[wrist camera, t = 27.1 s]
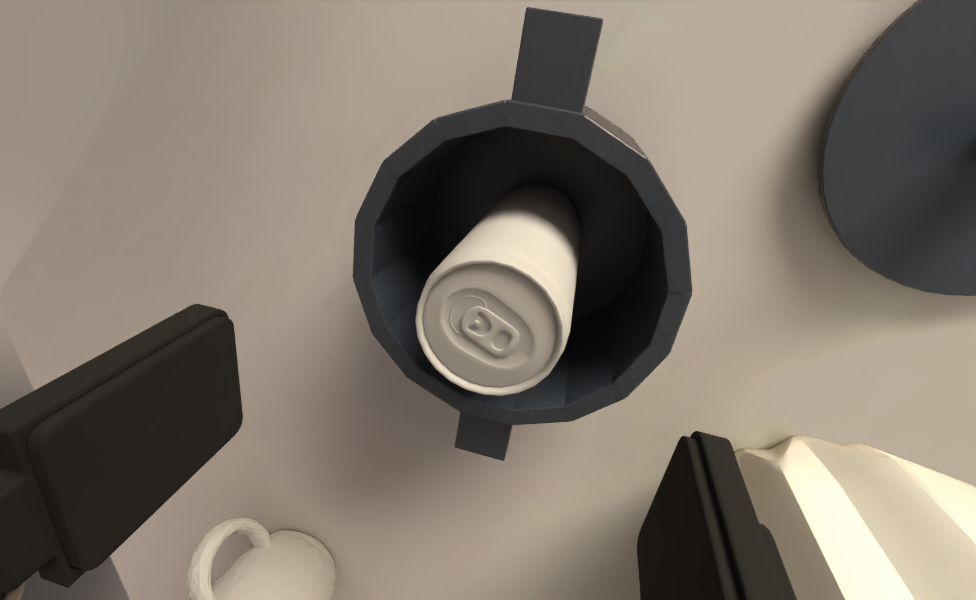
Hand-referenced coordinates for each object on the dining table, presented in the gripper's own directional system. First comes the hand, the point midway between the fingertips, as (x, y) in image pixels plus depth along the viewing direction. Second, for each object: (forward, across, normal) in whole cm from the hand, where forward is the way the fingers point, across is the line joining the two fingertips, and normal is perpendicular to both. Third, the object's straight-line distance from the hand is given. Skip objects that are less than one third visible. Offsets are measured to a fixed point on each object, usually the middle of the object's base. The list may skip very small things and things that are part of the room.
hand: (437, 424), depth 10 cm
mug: (+17, +15, +32) cm, 39 cm away
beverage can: (+17, 0, +1) cm, 17 cm away
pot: (+17, 0, +1) cm, 17 cm away
